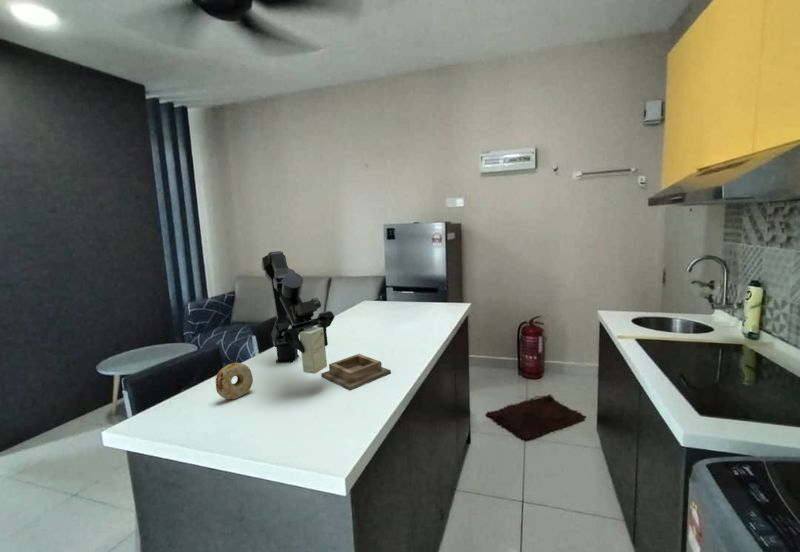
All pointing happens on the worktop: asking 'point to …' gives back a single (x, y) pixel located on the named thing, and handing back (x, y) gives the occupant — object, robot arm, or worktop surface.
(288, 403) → the worktop surface
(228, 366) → the stone disc
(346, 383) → the socket
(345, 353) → the worktop surface
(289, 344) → the robot arm
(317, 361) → the skincare box
